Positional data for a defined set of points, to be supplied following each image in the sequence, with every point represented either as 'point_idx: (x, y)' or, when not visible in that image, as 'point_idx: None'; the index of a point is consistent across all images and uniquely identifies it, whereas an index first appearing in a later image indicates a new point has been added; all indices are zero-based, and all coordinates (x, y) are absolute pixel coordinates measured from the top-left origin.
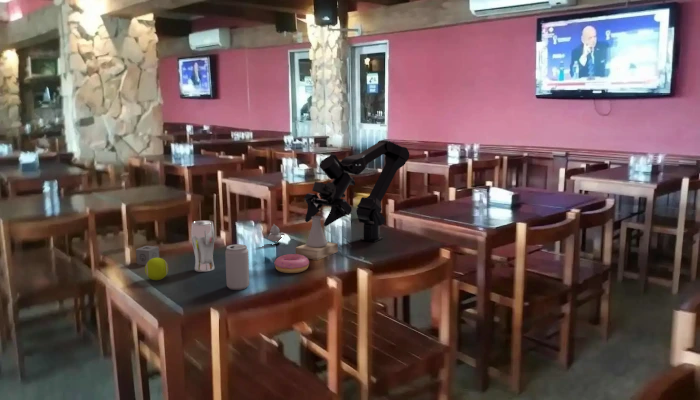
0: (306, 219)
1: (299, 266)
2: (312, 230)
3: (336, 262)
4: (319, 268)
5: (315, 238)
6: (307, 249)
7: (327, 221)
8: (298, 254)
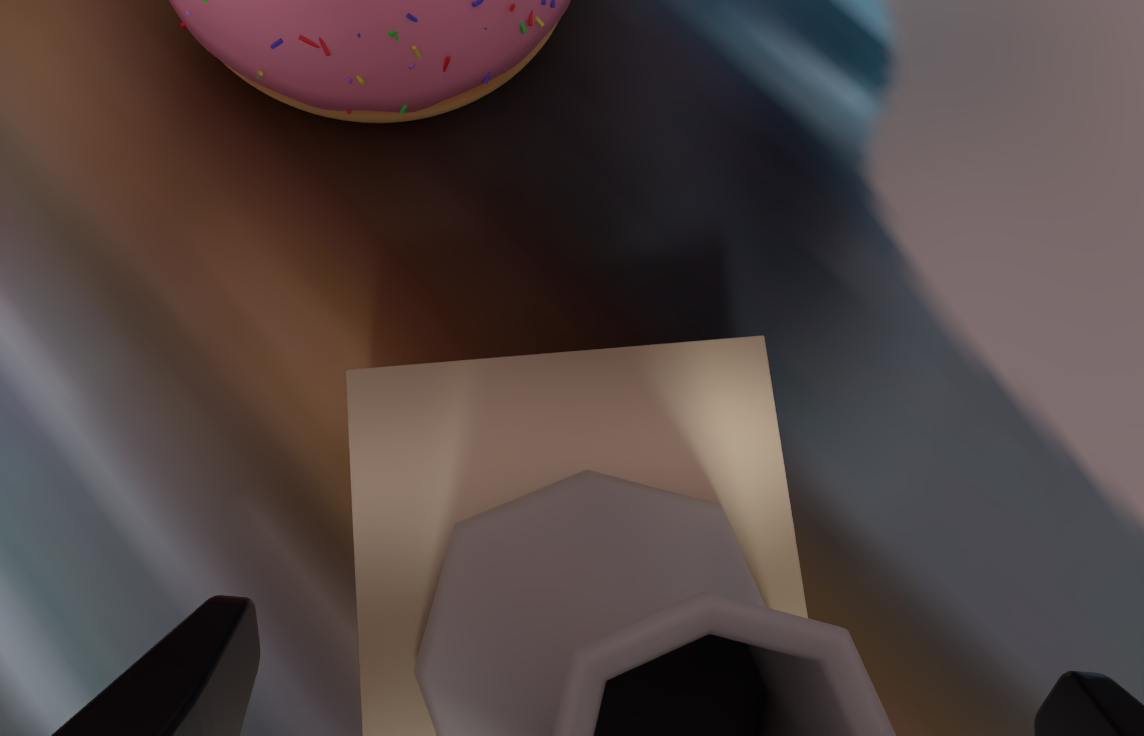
0: (1092, 706)
1: None
2: (662, 570)
3: (76, 479)
4: (116, 150)
5: (532, 539)
6: (542, 363)
7: (101, 721)
8: (387, 5)
